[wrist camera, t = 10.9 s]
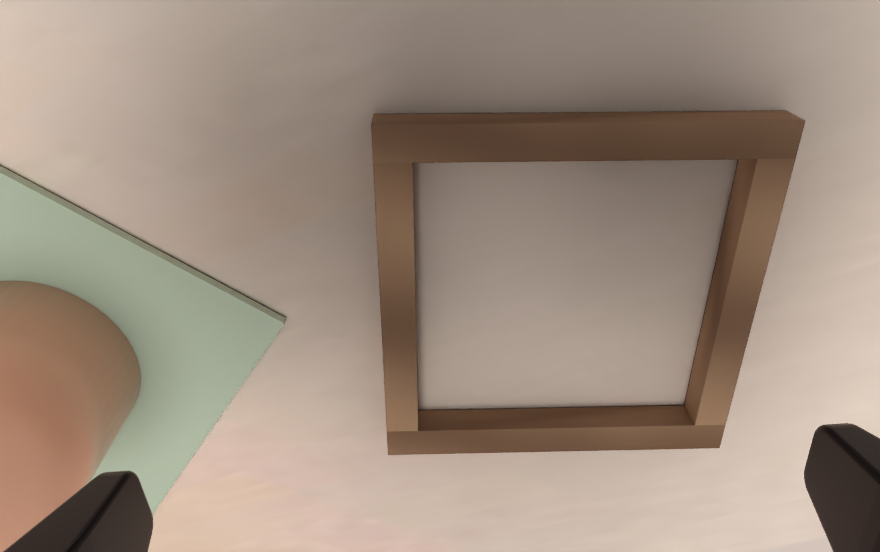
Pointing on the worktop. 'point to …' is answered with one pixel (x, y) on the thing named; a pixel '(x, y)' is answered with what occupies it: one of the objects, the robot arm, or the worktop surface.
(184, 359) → the sage mat
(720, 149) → the walnut collar
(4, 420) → the peach round cylinder
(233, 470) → the worktop surface
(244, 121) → the worktop surface
